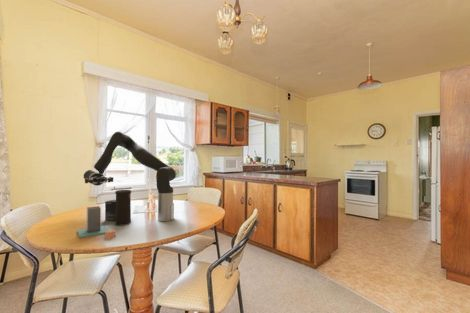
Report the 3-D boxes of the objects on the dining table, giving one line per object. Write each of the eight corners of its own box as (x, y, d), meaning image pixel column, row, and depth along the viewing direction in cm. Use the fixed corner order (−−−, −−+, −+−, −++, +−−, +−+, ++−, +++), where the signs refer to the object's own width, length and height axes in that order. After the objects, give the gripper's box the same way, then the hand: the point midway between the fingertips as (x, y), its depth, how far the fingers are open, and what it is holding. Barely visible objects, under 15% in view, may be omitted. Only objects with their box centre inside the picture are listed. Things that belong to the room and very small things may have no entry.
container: (134, 221, 139) (134, 189, 139) (122, 226, 130) (122, 191, 130) (123, 220, 142) (123, 188, 142) (111, 224, 133) (111, 190, 133)
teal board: (105, 226, 129) (105, 225, 129) (109, 232, 119) (109, 231, 119) (77, 231, 121) (77, 229, 121) (79, 238, 111) (79, 236, 111)
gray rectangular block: (98, 228, 124) (98, 206, 124) (100, 230, 119) (100, 208, 119) (86, 230, 120) (86, 207, 120) (87, 233, 116) (87, 209, 116)
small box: (130, 218, 147) (130, 199, 147) (124, 221, 140) (124, 202, 140) (111, 217, 148) (111, 199, 148) (104, 220, 141) (104, 201, 141)
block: (111, 236, 114) (111, 229, 114) (115, 237, 113) (115, 230, 113) (105, 238, 111) (105, 231, 111) (109, 239, 110) (109, 232, 110)
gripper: (83, 173, 136) (86, 175, 124) (109, 172, 145) (115, 173, 133) (82, 185, 136) (86, 188, 124) (109, 184, 145) (115, 186, 133)
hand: (101, 181), depth 128 cm, fingers open, 8 cm apart
